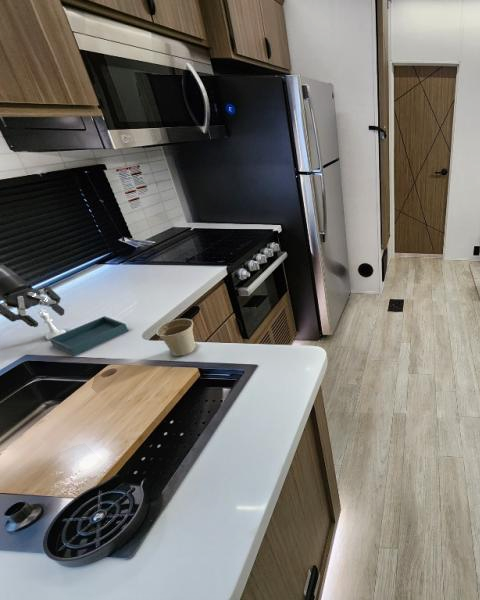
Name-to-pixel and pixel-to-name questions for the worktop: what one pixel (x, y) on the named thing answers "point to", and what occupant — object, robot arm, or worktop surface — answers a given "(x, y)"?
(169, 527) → the worktop surface
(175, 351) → the flower pot
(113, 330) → the tray
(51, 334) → the chess piece
